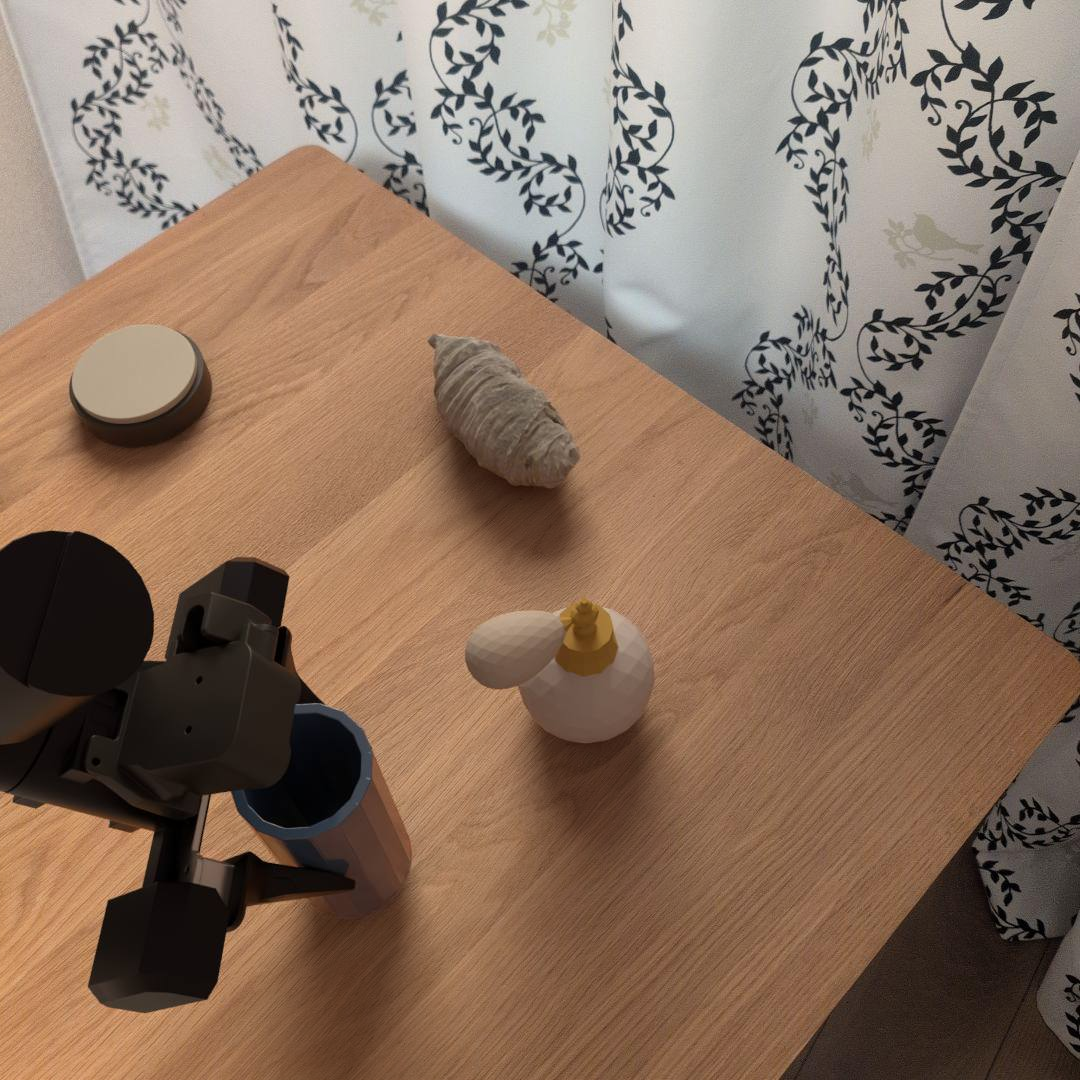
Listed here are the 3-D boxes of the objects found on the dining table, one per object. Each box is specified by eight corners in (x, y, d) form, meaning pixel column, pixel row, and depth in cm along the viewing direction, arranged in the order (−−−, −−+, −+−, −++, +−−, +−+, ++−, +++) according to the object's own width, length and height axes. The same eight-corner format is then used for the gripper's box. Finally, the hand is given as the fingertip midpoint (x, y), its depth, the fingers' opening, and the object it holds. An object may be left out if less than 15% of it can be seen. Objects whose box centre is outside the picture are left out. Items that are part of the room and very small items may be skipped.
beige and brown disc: (97, 466, 76) (82, 442, 73) (67, 372, 80) (52, 347, 78) (228, 417, 77) (217, 393, 75) (191, 328, 82) (180, 302, 80)
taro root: (478, 312, 78) (472, 270, 70) (591, 476, 76) (598, 453, 68) (399, 363, 77) (384, 327, 69) (511, 529, 76) (509, 512, 68)
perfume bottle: (678, 690, 66) (693, 586, 55) (570, 819, 62) (565, 733, 52) (576, 617, 68) (572, 505, 58) (467, 737, 65) (442, 640, 54)
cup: (318, 939, 57) (254, 863, 46) (281, 832, 60) (212, 737, 49) (429, 886, 59) (393, 801, 48) (387, 785, 62) (343, 681, 51)
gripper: (54, 936, 35) (452, 1014, 44) (180, 442, 45) (484, 587, 54) (-72, 980, 42) (293, 1039, 51) (61, 545, 52) (347, 658, 61)
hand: (359, 819), depth 54 cm, fingers closed on cup, 6 cm apart
